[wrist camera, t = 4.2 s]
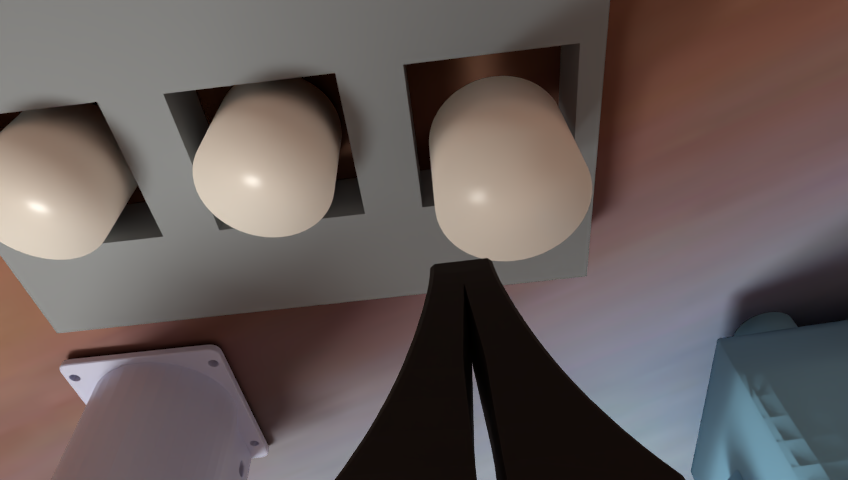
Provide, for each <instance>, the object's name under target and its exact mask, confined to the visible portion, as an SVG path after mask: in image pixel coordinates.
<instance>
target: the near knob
mask: <svg viewBox="0 0 848 480" xmlns="http://www.w3.org/2000/svg"><path fill="white" fill-rule="evenodd" d="M429 152H430V162H431V172H432V183H433V193H434V204H435V212H436V217H437V221H438V223H439V226H440V228H441V229H442V231H443V233H444V234H445V236H446V237H447V238H448V239H449V240H450V241H451V242H452V243H453V244H454V245H455V246H456V247H458V248H459V249H461V250H462V251H464V252H466V253H468V254H470V255H473V256H475V257H478V258H482V259H483V258H488V259H490V260H492V261H516V260H523V259H527V258H531V257H534V256H537V255H540V254H542V253H544V252H547V251H549V250H551V249H552V248H554V247H556V246H557V245H559V244H560V243H562V242H563V241H564V240H566V239H567V238H568V237H569V236H570V235H571V234H572V233H573V232H574V231H575V230H576V229H577V227H578V226H579V225H580V223H581V222H582V220H583V219H584V217H585V215H586V213H587V211H588V208H589V205H590V202H591V197H592V180H591V175H590V172H589V169H588V167H587V165H586V163H585V161H584V158H583V156H582V154H581V152H580V150H579V148H578V146H577V144H576V142H575V140H574V138H573V136H572V134H571V132H570V130H569V128H568V125H567V123H566V121H565V119H564V117H563V115H562V113H561V111H560V109H559V107H558V105H557V103H556V102H555V100H554V99H553V98H552V96H551V95H550V94H549V93H548V92H547V91H546V90H544V89H543V88H542V87H540V86H539V85H537V84H535V83H533V82H531V81H529V80H526V79H523V78H519V77H514V76H492V77H487V78H483V79H479V80H476V81H474V82H472V83H469V84H467V85H465V86H464V87H462V88H460V89H459V90H457V91H456V92H455V93H453V94H452V95H451V96H450V97H449V98H448V99H447V100H446V101H445V102H444V103H443V105H442V106H441V107H440V109H439V110H438V112H437V114H436V115H435V117H434V120H433V122H432V125H431V129H430V134H429Z"/></svg>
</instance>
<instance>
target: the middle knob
mask: <svg viewBox="0 0 848 480" xmlns="http://www.w3.org/2000/svg"><path fill="white" fill-rule="evenodd" d="M341 138H342V129H341V122H340V119H339V116H338V113H337V111H336V109H335V107H334V106H333V104H332V102H331V101H330V100H329V99H328V97H327V96H326V95H325V94H324V93H323V92H322V91H321V90H320V89H318V88H317V87H316V86H314V85H313V84H311V83H309V82H308V81H306V80H304V79H302V78H299V77H298V78H289V79H281V80H273V81H265V82H256V83H248V84H240V85H234V86H233V87H232V88H231V89H230V90H229V91H228V92H227V94H226V95H225V97H224V99H223V101H222V102H221V104H220V106H219V108H218V110H217V112H216V114H215V116H214V118H213V120H212V122H211V124H210V126H209V128H208V130H207V132H206V134H205V136H204V138H203V140H202V142H201V144H200V146H199V148H198V150H197V152H196V155H195V158H194V161H193V180H194V185H195V188H196V191H197V193H198V195H199V197H200V199H201V200H202V201H203V203H204V204H205V206H206V207H207V208H208V209H209V210H210V211H211V212H212V213H213V214H214V215H215V216H216V217H217V218H218V219H220V220H221V221H222V222H224V223H225V224H227V225H229V226H231V227H232V228H235V229H237V230H239V231H242V232H244V233H247V234H251V235H255V236H261V237H285V236H291V235H295V234H298V233H301V232H303V231H305V230H307V229H309V228H311V227H312V226H314V225H315V224H316V223H318V222H319V221H320V220H321V219H322V218H323V217H324V215H325V214H326V213H327V211H328V210H329V208H330V206H331V203H332V200H333V196H334V190H335V183H336V175H337V168H338V161H339V153H340V146H341Z"/></svg>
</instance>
